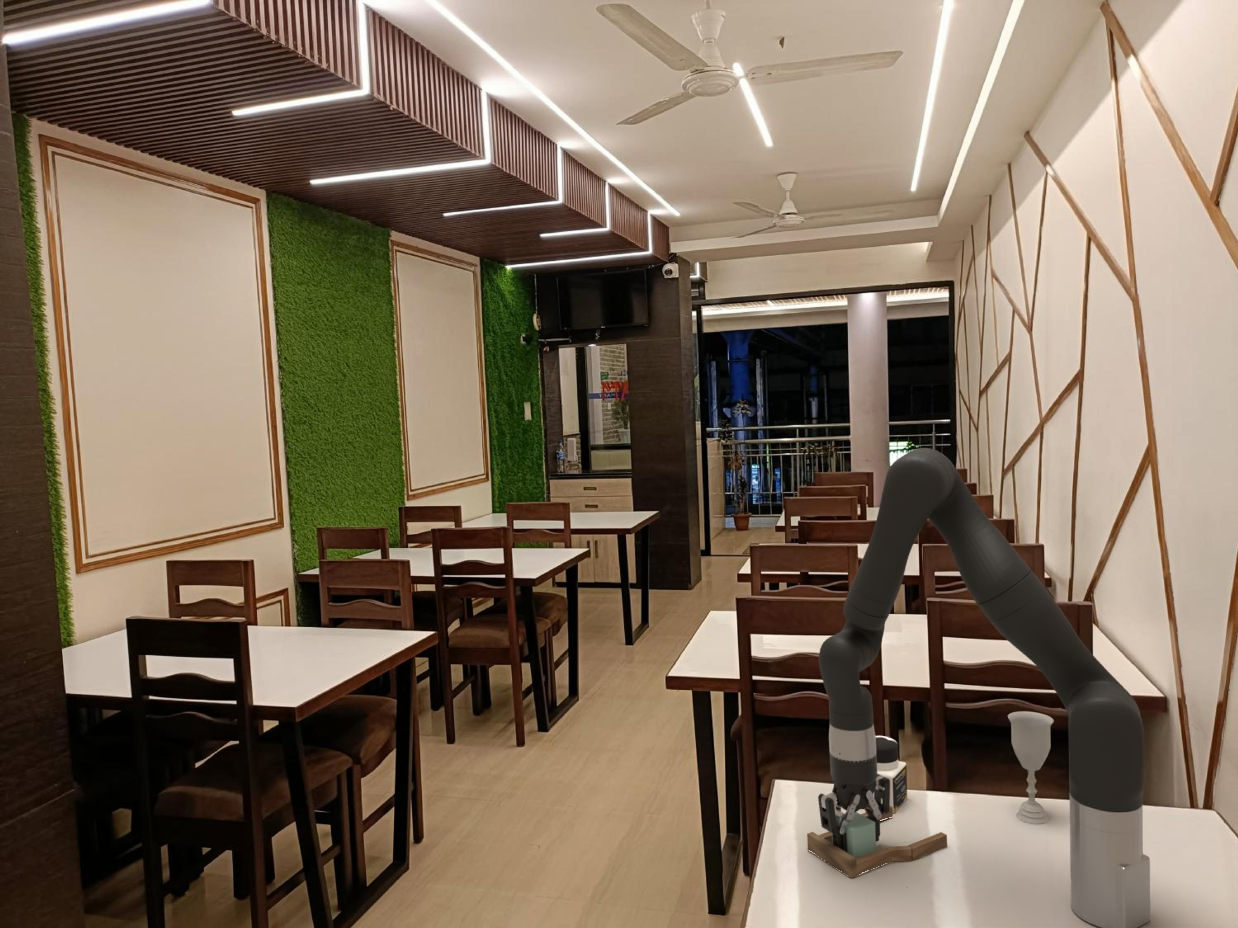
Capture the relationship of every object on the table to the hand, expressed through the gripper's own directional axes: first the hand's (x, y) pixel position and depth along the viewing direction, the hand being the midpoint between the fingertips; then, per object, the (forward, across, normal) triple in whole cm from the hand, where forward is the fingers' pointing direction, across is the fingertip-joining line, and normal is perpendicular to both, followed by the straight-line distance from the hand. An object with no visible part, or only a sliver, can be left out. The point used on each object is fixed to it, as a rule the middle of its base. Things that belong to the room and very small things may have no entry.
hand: (857, 845), depth 147 cm
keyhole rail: (+1, +4, 0) cm, 4 cm away
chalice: (+2, +34, -8) cm, 35 cm away
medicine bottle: (+2, +17, +11) cm, 20 cm away
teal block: (+1, -1, 0) cm, 2 cm away
